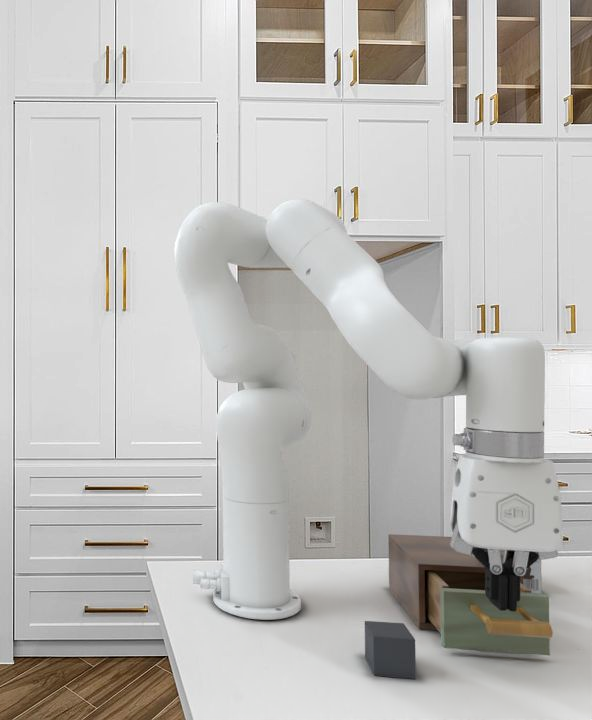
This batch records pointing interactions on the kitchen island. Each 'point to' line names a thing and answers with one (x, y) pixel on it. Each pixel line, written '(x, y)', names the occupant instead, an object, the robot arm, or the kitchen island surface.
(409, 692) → the kitchen island surface
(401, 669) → the block
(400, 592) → the cabinet
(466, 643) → the drawer
